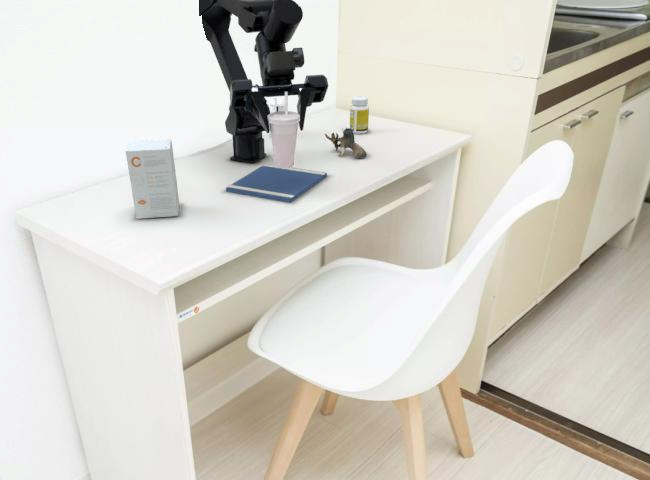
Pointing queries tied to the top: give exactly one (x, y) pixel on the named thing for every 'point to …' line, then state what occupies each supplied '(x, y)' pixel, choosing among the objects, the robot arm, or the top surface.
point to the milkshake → (277, 105)
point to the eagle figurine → (347, 143)
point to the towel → (277, 182)
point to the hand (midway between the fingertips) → (285, 130)
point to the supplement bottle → (359, 115)
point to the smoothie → (283, 135)
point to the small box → (153, 178)
